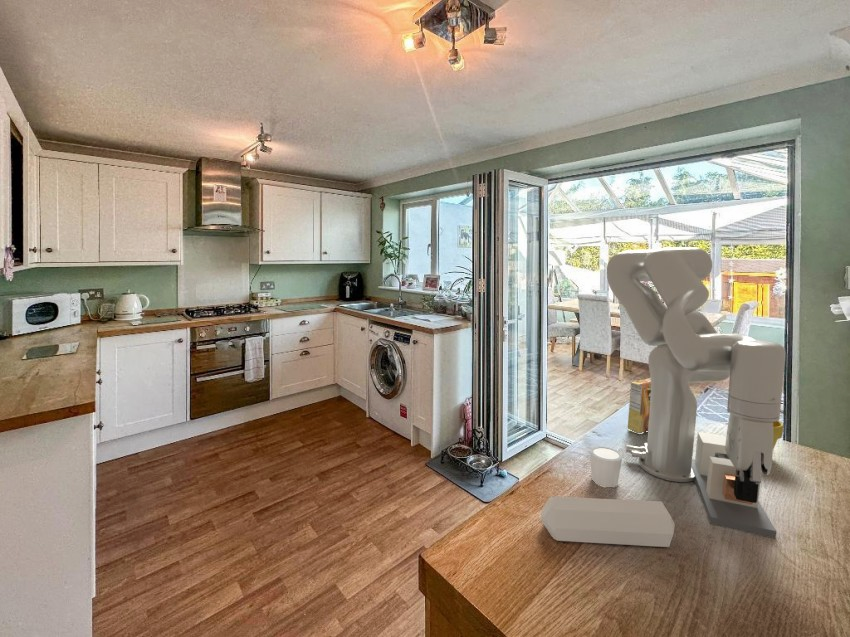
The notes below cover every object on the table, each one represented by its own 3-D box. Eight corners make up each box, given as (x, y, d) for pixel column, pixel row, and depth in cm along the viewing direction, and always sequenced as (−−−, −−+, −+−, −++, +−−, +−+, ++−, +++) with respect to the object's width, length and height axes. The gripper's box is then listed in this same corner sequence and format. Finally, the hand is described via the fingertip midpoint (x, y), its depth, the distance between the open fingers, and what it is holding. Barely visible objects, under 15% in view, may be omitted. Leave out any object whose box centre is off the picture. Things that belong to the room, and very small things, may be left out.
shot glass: (583, 473, 95) (584, 446, 94) (610, 472, 96) (612, 445, 95) (598, 490, 88) (599, 461, 87) (627, 488, 89) (629, 459, 88)
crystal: (547, 531, 70) (689, 539, 68) (541, 492, 76) (672, 498, 73) (542, 548, 75) (675, 556, 72) (536, 510, 80) (660, 516, 78)
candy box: (645, 424, 122) (649, 377, 120) (659, 430, 118) (663, 381, 116) (626, 430, 118) (629, 381, 116) (639, 436, 114) (643, 385, 112)
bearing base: (775, 538, 73) (781, 491, 71) (710, 523, 77) (714, 479, 75) (737, 472, 94) (742, 435, 93) (688, 464, 99) (691, 428, 97)
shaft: (752, 504, 76) (754, 483, 76) (724, 498, 78) (726, 478, 78) (725, 457, 94) (727, 440, 94) (703, 453, 96) (705, 436, 96)
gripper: (718, 393, 81) (712, 476, 83) (739, 417, 68) (730, 516, 70) (765, 397, 78) (757, 484, 80) (796, 424, 65) (785, 527, 67)
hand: (745, 498), depth 75 cm, fingers closed
